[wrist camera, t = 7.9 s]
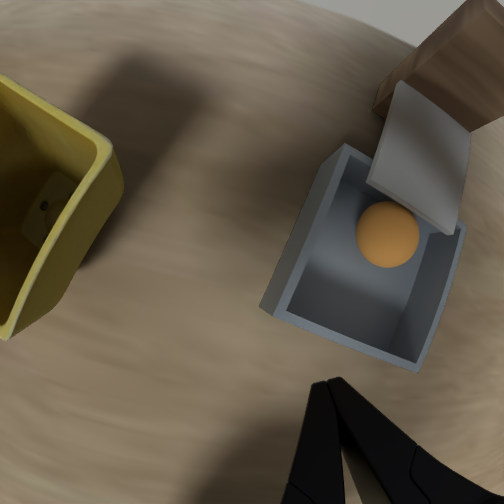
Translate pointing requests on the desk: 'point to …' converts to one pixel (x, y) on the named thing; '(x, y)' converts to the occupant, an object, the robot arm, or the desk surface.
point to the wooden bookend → (440, 112)
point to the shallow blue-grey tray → (360, 271)
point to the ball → (387, 234)
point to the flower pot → (54, 193)
